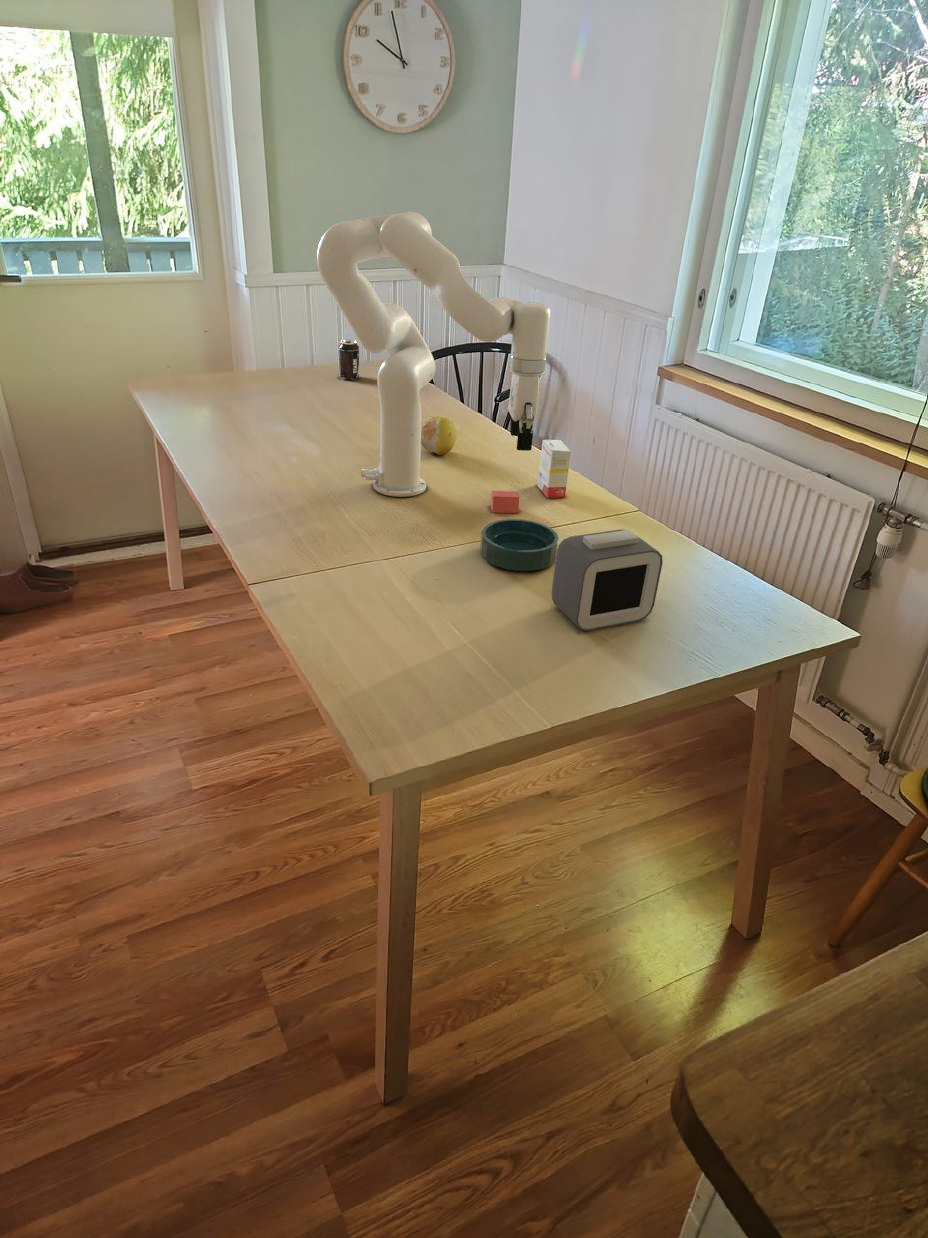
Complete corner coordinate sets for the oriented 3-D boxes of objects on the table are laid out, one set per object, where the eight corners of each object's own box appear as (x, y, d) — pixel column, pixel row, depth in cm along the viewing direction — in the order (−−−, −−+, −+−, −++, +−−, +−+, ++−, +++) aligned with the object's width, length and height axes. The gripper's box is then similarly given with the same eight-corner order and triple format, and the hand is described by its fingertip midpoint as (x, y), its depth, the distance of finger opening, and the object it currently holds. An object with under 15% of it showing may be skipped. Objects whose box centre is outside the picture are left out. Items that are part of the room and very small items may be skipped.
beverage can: (336, 379, 280) (335, 342, 274) (342, 374, 286) (341, 338, 279) (356, 381, 279) (355, 344, 273) (361, 376, 285) (361, 340, 279)
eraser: (492, 512, 192) (493, 496, 190) (490, 506, 195) (491, 490, 193) (518, 513, 193) (519, 497, 191) (516, 507, 195) (517, 491, 193)
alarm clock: (574, 633, 148) (586, 554, 140) (544, 603, 157) (553, 527, 149) (651, 619, 154) (666, 542, 146) (618, 590, 163) (630, 516, 155)
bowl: (484, 573, 166) (485, 551, 163) (477, 539, 179) (478, 518, 177) (561, 575, 167) (564, 552, 165) (548, 541, 181) (551, 519, 178)
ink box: (566, 498, 202) (572, 450, 196) (546, 498, 201) (552, 451, 195) (555, 484, 209) (561, 438, 203) (536, 485, 208) (541, 438, 202)
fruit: (436, 443, 230) (438, 407, 225) (463, 454, 224) (466, 418, 219) (408, 451, 224) (409, 414, 219) (435, 462, 218) (437, 425, 213)
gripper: (505, 354, 185) (499, 429, 194) (516, 375, 171) (509, 455, 179) (538, 355, 186) (531, 430, 195) (552, 376, 171) (543, 456, 180)
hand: (520, 442), depth 187 cm, fingers open, 9 cm apart
